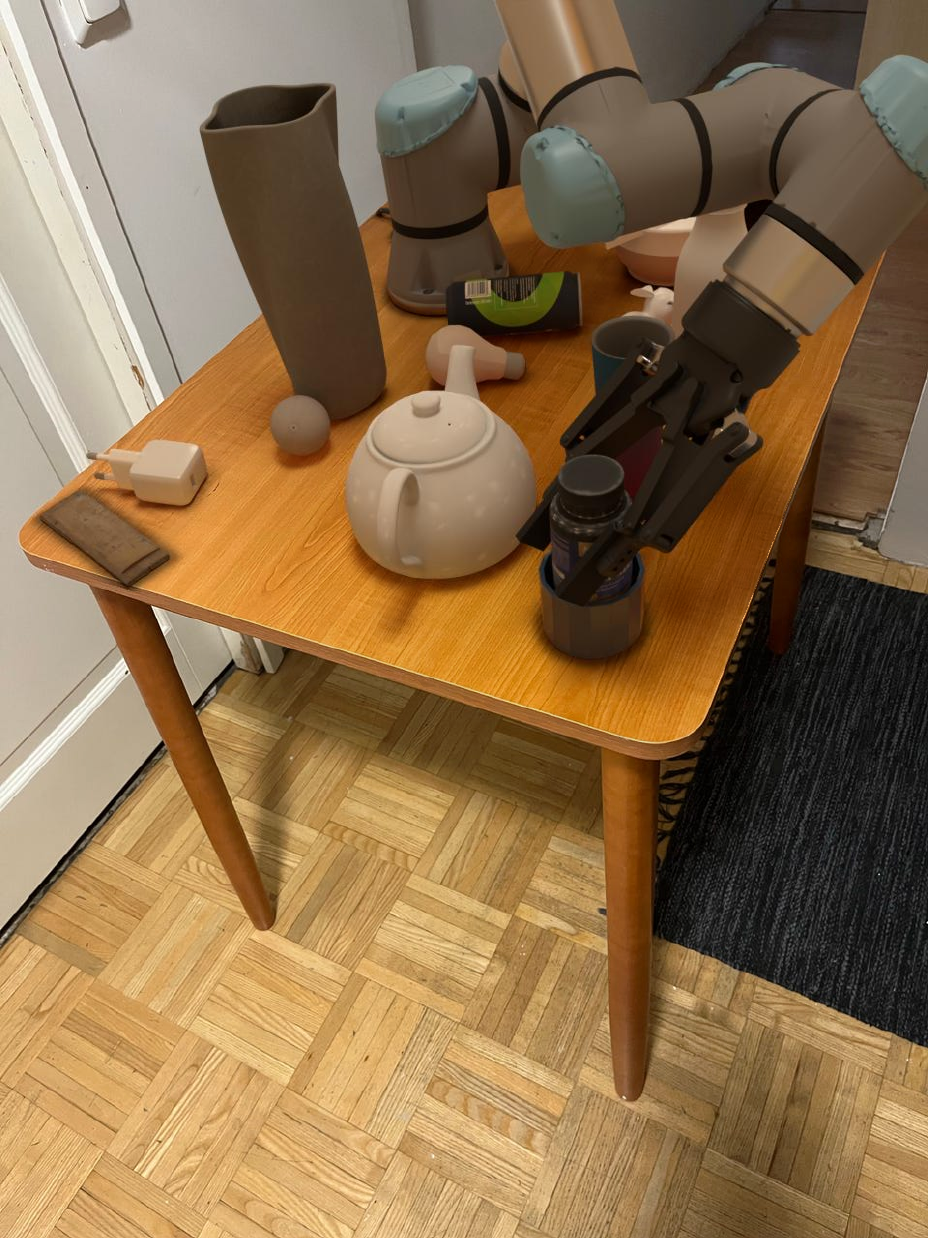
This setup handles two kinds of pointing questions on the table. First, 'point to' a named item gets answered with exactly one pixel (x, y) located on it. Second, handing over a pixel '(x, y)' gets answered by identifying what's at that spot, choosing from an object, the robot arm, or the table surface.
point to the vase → (299, 238)
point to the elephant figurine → (655, 303)
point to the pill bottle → (587, 517)
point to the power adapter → (157, 471)
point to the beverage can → (516, 304)
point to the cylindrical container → (592, 617)
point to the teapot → (440, 481)
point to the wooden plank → (104, 537)
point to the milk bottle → (705, 257)
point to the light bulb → (486, 360)
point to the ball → (300, 425)
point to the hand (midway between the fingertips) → (548, 570)
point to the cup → (608, 356)
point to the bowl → (656, 252)
